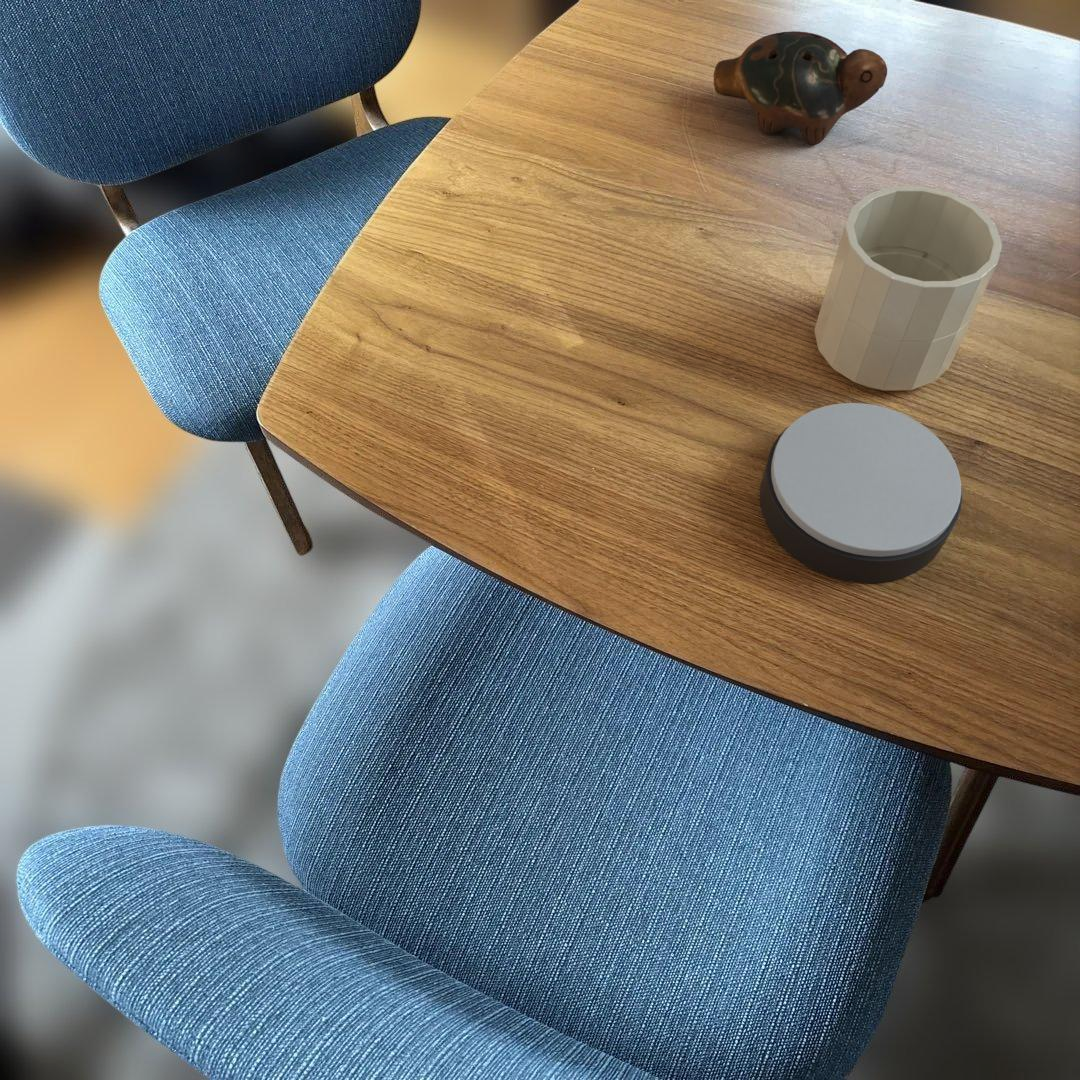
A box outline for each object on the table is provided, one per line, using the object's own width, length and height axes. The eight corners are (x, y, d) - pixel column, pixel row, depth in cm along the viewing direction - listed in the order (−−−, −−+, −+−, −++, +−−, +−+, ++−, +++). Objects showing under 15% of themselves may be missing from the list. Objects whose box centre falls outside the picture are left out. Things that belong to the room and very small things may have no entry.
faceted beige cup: (977, 373, 78) (1033, 261, 69) (859, 414, 76) (901, 304, 67) (900, 285, 84) (942, 170, 75) (788, 321, 82) (818, 208, 73)
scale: (987, 545, 70) (1007, 514, 67) (821, 610, 67) (833, 581, 64) (881, 410, 77) (894, 377, 74) (726, 465, 74) (733, 432, 71)
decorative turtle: (868, 164, 92) (886, 84, 86) (701, 147, 96) (704, 69, 89) (880, 97, 97) (898, 16, 90) (720, 82, 100) (725, 3, 94)
